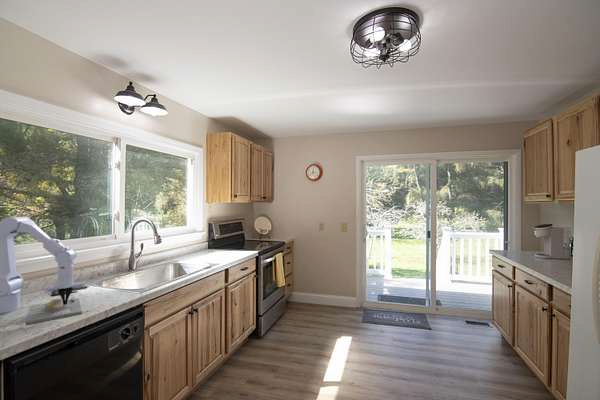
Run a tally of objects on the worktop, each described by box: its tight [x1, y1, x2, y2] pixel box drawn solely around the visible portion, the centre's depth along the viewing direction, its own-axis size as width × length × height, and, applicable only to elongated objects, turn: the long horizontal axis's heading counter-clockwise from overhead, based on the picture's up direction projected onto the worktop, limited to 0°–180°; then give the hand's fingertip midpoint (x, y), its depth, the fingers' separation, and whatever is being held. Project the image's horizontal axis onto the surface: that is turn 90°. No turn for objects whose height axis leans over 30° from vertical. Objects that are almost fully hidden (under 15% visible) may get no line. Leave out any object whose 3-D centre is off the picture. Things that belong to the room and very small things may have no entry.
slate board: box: [25, 296, 83, 327], centre depth 127 cm, size 18×23×3 cm
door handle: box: [50, 285, 88, 297], centre depth 156 cm, size 3×20×16 cm
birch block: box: [46, 297, 62, 311], centre depth 128 cm, size 5×5×4 cm
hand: (65, 304), depth 131 cm, fingers closed
